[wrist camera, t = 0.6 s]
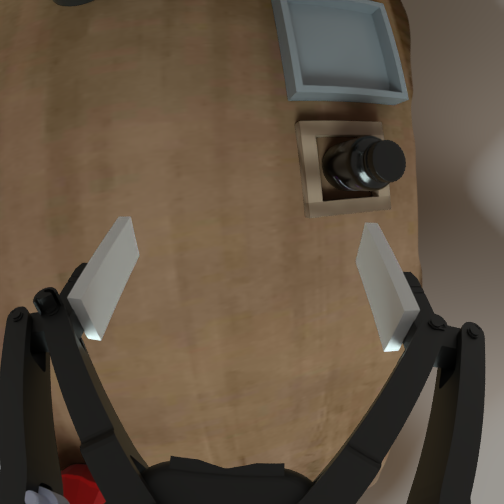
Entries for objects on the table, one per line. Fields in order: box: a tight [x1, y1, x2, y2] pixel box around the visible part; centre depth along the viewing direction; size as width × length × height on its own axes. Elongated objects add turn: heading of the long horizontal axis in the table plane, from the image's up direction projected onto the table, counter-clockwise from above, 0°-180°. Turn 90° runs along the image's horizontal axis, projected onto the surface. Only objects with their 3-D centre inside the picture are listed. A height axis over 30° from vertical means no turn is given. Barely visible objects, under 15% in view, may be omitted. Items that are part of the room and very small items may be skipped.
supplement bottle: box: [322, 136, 406, 191], centre depth 37 cm, size 7×7×12 cm
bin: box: [271, 0, 409, 105], centre depth 37 cm, size 18×18×4 cm
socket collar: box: [295, 121, 391, 218], centre depth 41 cm, size 13×13×2 cm
